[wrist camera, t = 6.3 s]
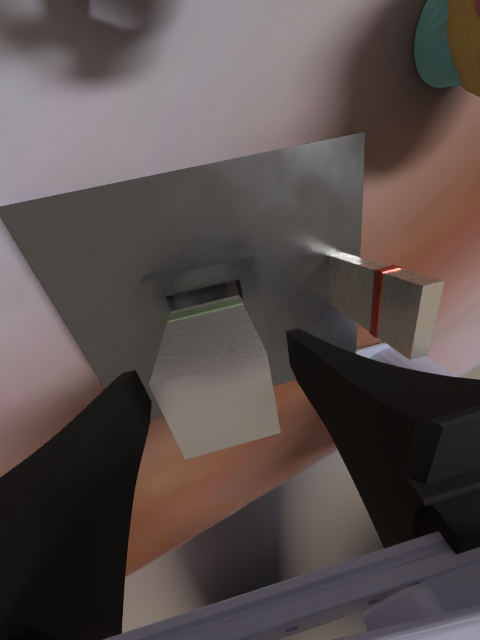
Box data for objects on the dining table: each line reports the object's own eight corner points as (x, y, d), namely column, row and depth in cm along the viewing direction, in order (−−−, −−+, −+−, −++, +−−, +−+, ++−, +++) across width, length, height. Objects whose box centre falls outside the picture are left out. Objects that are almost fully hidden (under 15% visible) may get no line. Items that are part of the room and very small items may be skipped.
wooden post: (251, 351, 15) (282, 433, 9) (189, 367, 15) (184, 461, 9) (239, 293, 13) (268, 352, 8) (169, 310, 13) (146, 384, 7)
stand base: (349, 357, 23) (430, 436, 15) (130, 416, 22) (89, 537, 14) (355, 136, 15) (537, 47, 7) (8, 208, 14) (-268, 200, 6)
